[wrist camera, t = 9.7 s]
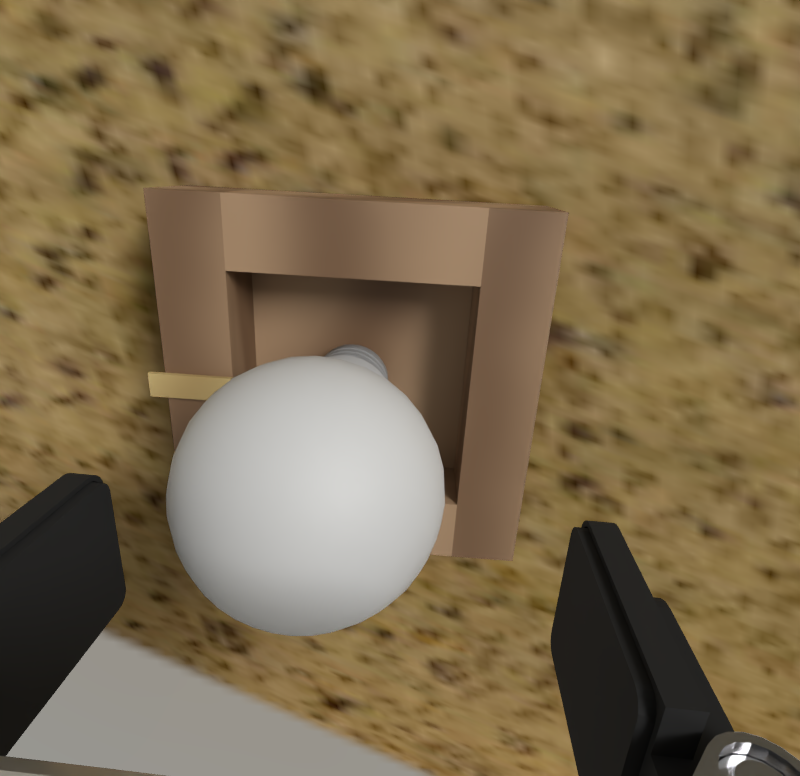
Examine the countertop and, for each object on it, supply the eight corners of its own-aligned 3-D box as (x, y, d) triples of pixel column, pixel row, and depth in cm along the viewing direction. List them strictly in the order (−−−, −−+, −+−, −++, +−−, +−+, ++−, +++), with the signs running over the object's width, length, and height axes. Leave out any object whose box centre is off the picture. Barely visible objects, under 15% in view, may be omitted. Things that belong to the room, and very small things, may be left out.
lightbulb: (268, 282, 19) (73, 417, 9) (444, 290, 18) (462, 439, 8) (277, 439, 21) (132, 694, 11) (434, 448, 21) (438, 716, 11)
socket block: (547, 206, 18) (569, 212, 15) (500, 522, 22) (511, 575, 20) (172, 184, 18) (123, 186, 15) (203, 500, 23) (170, 548, 20)
